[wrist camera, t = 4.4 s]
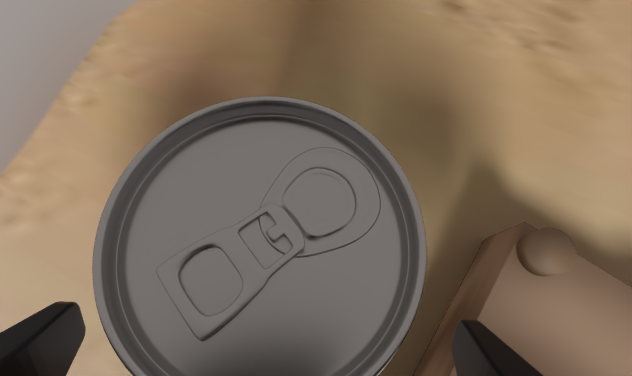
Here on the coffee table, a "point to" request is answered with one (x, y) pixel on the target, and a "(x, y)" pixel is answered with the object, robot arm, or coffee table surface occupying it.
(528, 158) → the coffee table surface
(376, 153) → the can
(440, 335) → the base brick
